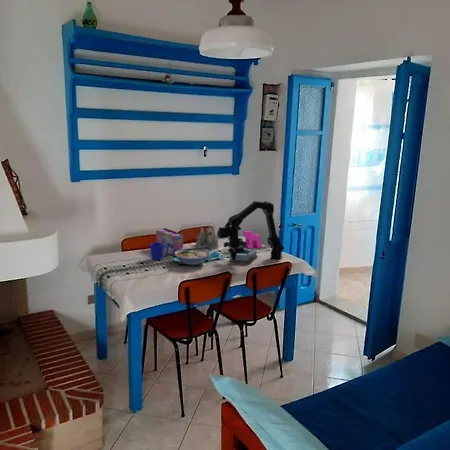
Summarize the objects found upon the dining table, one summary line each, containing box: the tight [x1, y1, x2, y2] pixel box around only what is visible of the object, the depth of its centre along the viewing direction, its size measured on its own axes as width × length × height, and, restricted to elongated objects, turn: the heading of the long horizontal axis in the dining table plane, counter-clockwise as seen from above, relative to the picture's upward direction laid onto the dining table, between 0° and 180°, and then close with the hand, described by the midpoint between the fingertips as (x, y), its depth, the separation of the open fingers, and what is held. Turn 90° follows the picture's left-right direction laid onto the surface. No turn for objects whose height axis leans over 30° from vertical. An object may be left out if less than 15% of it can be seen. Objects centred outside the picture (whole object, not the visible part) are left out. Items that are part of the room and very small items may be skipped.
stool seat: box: [229, 247, 258, 265], centre depth 298 cm, size 14×14×6 cm
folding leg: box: [229, 254, 251, 261], centre depth 291 cm, size 14×3×4 cm, turn 84°
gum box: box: [155, 227, 184, 255], centre depth 316 cm, size 24×8×14 cm, turn 41°
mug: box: [149, 242, 169, 261], centre depth 297 cm, size 8×12×10 cm
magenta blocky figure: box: [243, 230, 263, 250], centre depth 329 cm, size 12×10×10 cm
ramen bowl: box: [172, 247, 211, 266], centre depth 289 cm, size 25×23×8 cm
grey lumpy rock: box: [195, 224, 219, 250], centre depth 327 cm, size 16×16×15 cm
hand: (233, 260), depth 289 cm, fingers closed
